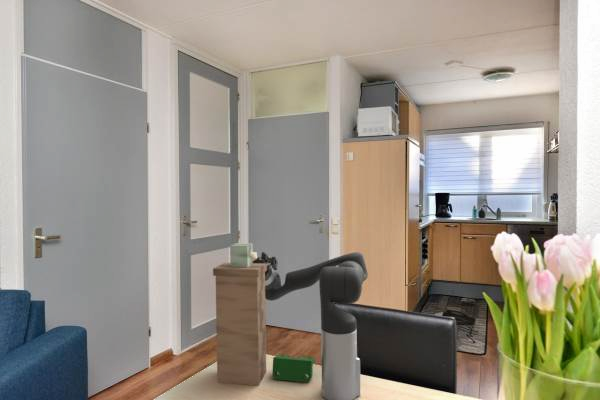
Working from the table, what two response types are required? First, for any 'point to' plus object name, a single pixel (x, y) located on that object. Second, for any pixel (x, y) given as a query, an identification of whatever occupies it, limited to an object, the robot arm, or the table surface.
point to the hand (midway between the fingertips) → (249, 254)
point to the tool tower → (240, 323)
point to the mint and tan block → (242, 255)
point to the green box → (292, 368)
